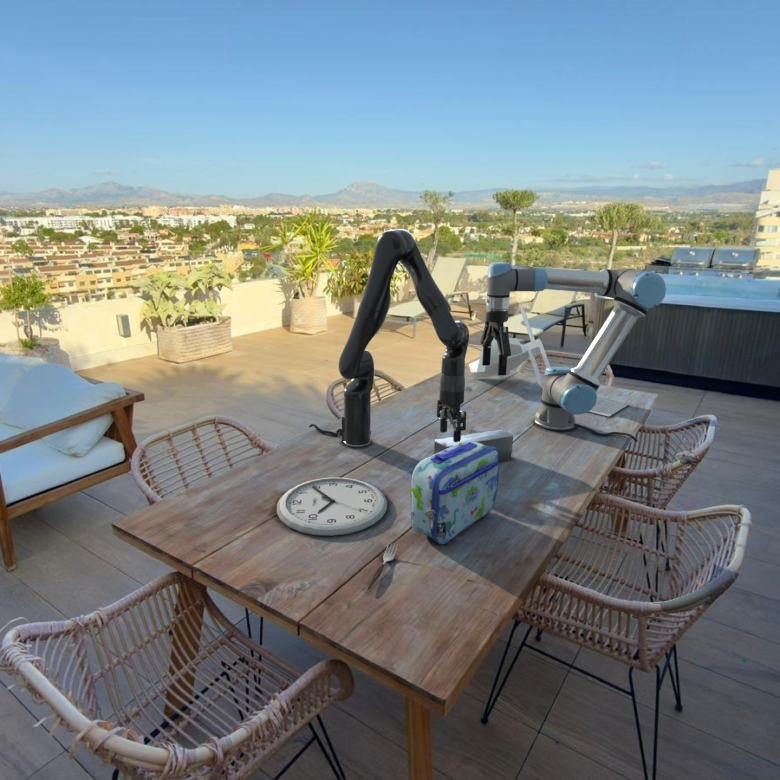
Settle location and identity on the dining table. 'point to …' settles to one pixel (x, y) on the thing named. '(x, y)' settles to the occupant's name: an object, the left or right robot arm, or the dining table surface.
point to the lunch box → (453, 489)
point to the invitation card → (607, 407)
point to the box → (482, 442)
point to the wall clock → (331, 506)
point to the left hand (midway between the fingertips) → (450, 436)
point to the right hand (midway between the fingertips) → (493, 370)
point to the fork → (386, 558)
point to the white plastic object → (512, 356)
